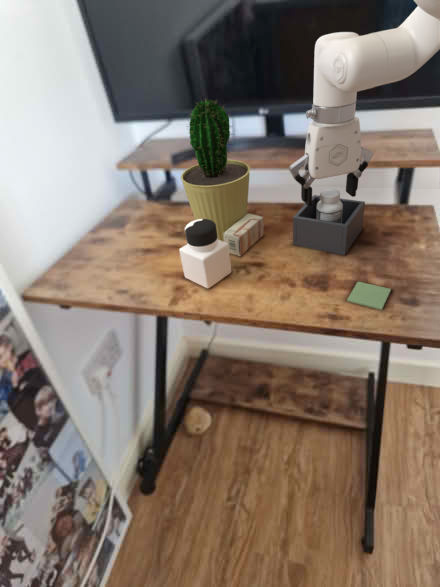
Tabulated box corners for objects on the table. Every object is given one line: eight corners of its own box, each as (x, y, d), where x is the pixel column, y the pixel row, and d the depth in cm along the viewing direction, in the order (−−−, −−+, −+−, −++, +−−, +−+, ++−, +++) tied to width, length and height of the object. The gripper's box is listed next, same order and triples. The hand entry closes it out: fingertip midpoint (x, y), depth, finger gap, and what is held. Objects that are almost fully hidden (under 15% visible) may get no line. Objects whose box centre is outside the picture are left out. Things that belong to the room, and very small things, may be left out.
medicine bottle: (232, 272, 83) (226, 220, 76) (208, 289, 80) (199, 236, 72) (208, 262, 88) (200, 211, 80) (184, 278, 84) (173, 226, 77)
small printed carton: (239, 237, 85) (263, 215, 91) (222, 233, 87) (246, 212, 93) (241, 257, 88) (264, 235, 94) (224, 253, 90) (248, 231, 96)
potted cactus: (218, 255, 89) (197, 111, 71) (179, 233, 100) (152, 103, 81) (267, 228, 96) (260, 91, 78) (226, 210, 106) (212, 85, 88)
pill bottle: (317, 227, 92) (318, 186, 86) (341, 228, 90) (344, 187, 85) (313, 239, 88) (315, 197, 82) (339, 241, 87) (342, 198, 81)
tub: (362, 229, 91) (365, 201, 87) (344, 255, 83) (347, 226, 79) (313, 221, 96) (313, 194, 92) (293, 245, 89) (292, 217, 85)
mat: (390, 290, 73) (391, 288, 73) (381, 310, 69) (382, 308, 69) (357, 282, 76) (357, 281, 75) (347, 301, 72) (347, 299, 72)
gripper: (296, 126, 70) (296, 214, 81) (388, 109, 72) (376, 197, 83) (282, 116, 76) (283, 199, 87) (367, 100, 78) (358, 184, 88)
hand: (329, 198), depth 85 cm, fingers open, 9 cm apart
